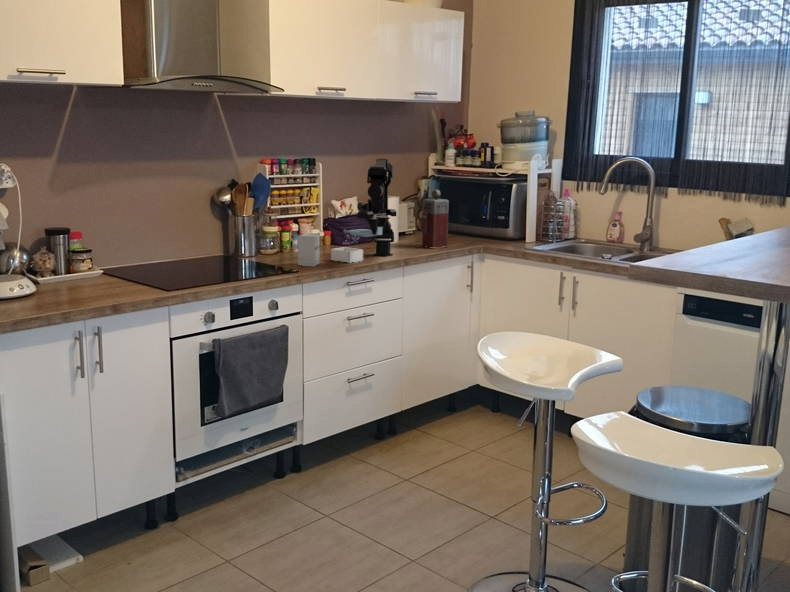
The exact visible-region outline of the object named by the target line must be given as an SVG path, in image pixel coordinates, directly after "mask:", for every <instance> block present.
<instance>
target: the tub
mask: <svg viewBox="0 0 790 592" xmlns="http://www.w3.org/2000/svg"><path fill="white" fill-rule="evenodd" d="M331 260H334V261H333V262H337V261H341V262H340V263H343V262H347V263H346V264H353V263H352V262H354V263H360V262H364V249H361V248H354V247H347V246H343V247H342V246H341V247H336V248H330V261H331ZM359 261H360V262H359Z"/></svg>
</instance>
